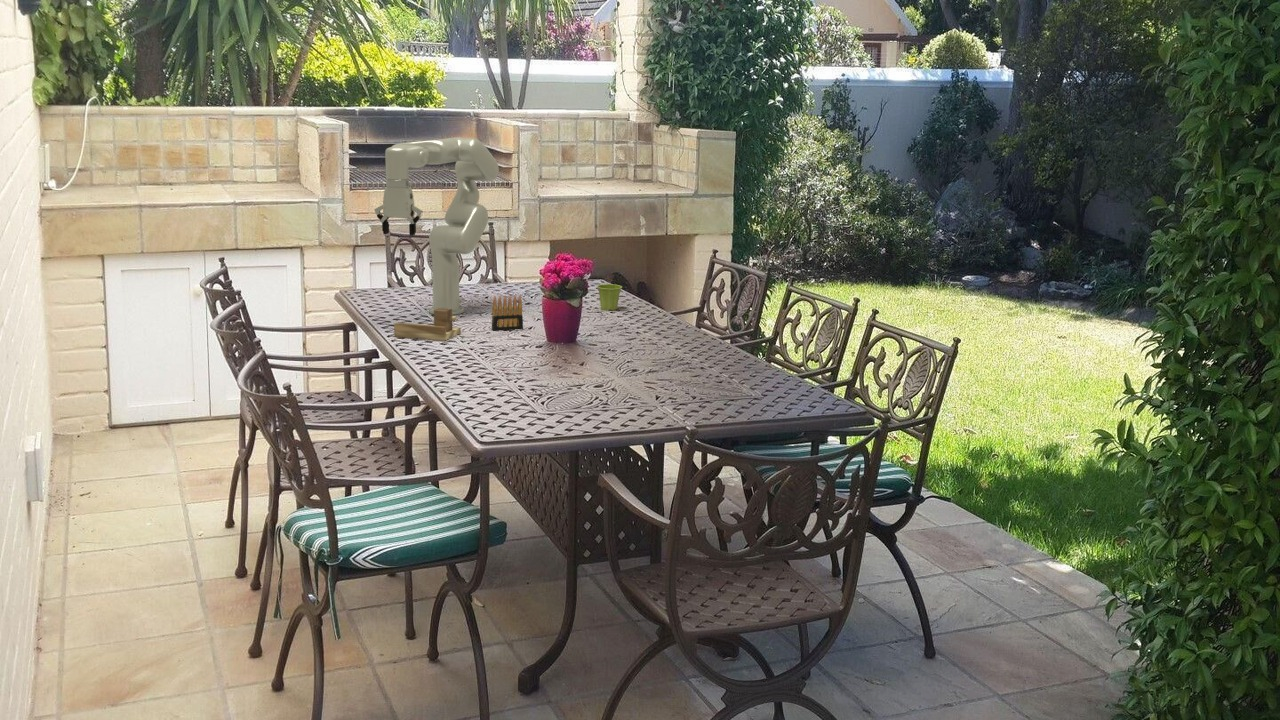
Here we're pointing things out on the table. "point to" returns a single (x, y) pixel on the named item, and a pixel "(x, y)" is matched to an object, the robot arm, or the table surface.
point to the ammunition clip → (513, 319)
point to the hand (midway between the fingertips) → (399, 234)
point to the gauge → (444, 318)
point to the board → (424, 331)
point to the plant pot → (609, 296)
